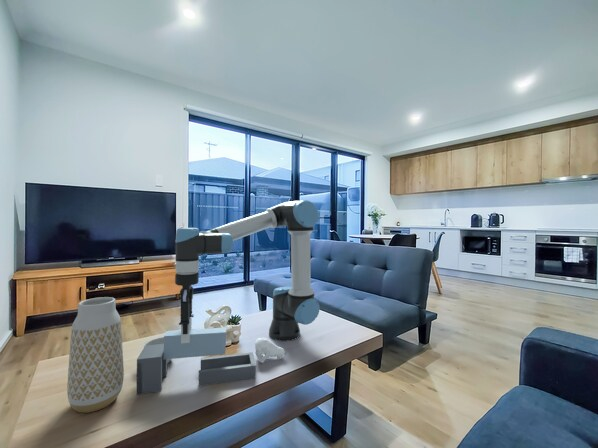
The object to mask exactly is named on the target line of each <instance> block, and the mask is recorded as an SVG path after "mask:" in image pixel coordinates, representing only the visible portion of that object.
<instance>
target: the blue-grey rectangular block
mask: <svg viewBox="0 0 598 448" xmlns="http://www.w3.org/2000/svg"><path fill="white" fill-rule="evenodd" d="M163 337H164V355H163V360H164V359H171V360H174V359H185V358H186V359H187V358H196V357H198V358H199V357H207V356H208V357H212V356H224V355H226V342H227V341H226V340H227V327H211V328H210V327H209V328H208V327H207V328H196V329H193V328H191V330H190V343H181V329H178V330H166V331H165V333H164V334H163Z"/></svg>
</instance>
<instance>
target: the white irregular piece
mask: <svg viewBox="0 0 598 448" xmlns="http://www.w3.org/2000/svg"><path fill="white" fill-rule="evenodd" d="M254 345H255V346H254V347H255V356H256V358H257V360H258V362H259V363H261V364H263V363H264V360H267V359H269V358H272V357H276V359H277V360H280V359H282V358H283V356H285V350H284V348H283V347H280V346H277V345H276V344H275V343H274V342H273V341H272V340H270V339H269V338H267V337H259V338H257V339H256V340H255V342H254Z"/></svg>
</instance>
